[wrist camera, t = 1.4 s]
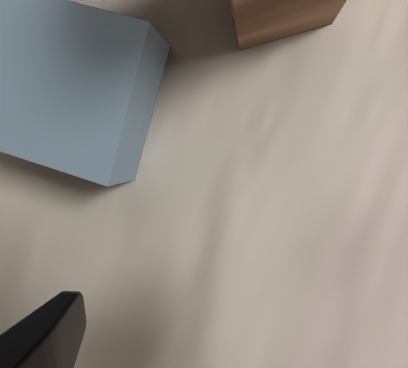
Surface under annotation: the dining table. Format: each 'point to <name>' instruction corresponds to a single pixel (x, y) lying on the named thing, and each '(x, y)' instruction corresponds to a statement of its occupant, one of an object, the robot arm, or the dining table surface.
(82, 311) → the robot arm
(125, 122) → the slate base block
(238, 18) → the walnut block
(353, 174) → the dining table surface
